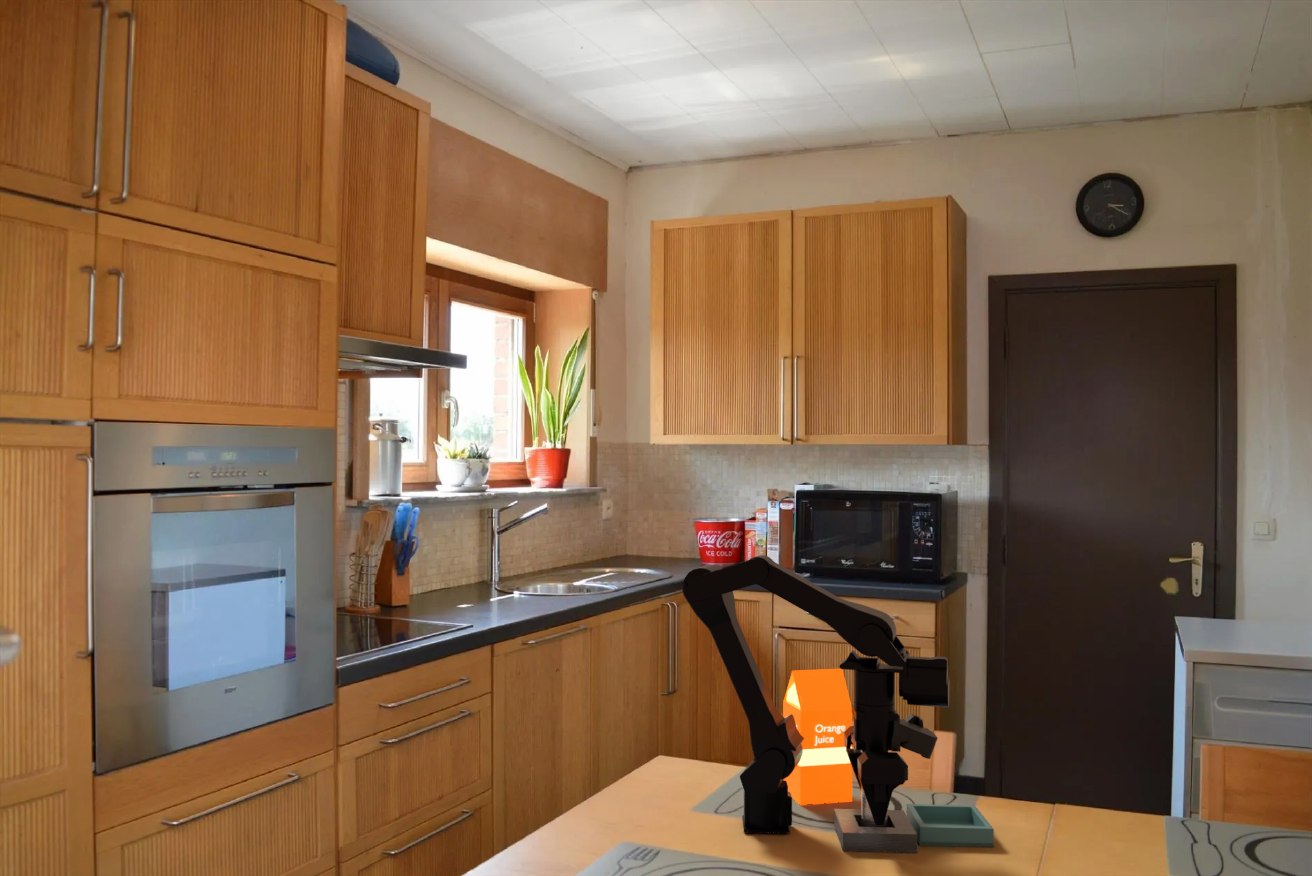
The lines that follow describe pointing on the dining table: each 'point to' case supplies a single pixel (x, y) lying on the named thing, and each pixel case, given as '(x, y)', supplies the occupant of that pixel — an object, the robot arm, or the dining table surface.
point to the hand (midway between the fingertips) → (874, 813)
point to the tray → (950, 825)
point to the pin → (868, 813)
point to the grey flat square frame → (875, 833)
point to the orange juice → (820, 736)
